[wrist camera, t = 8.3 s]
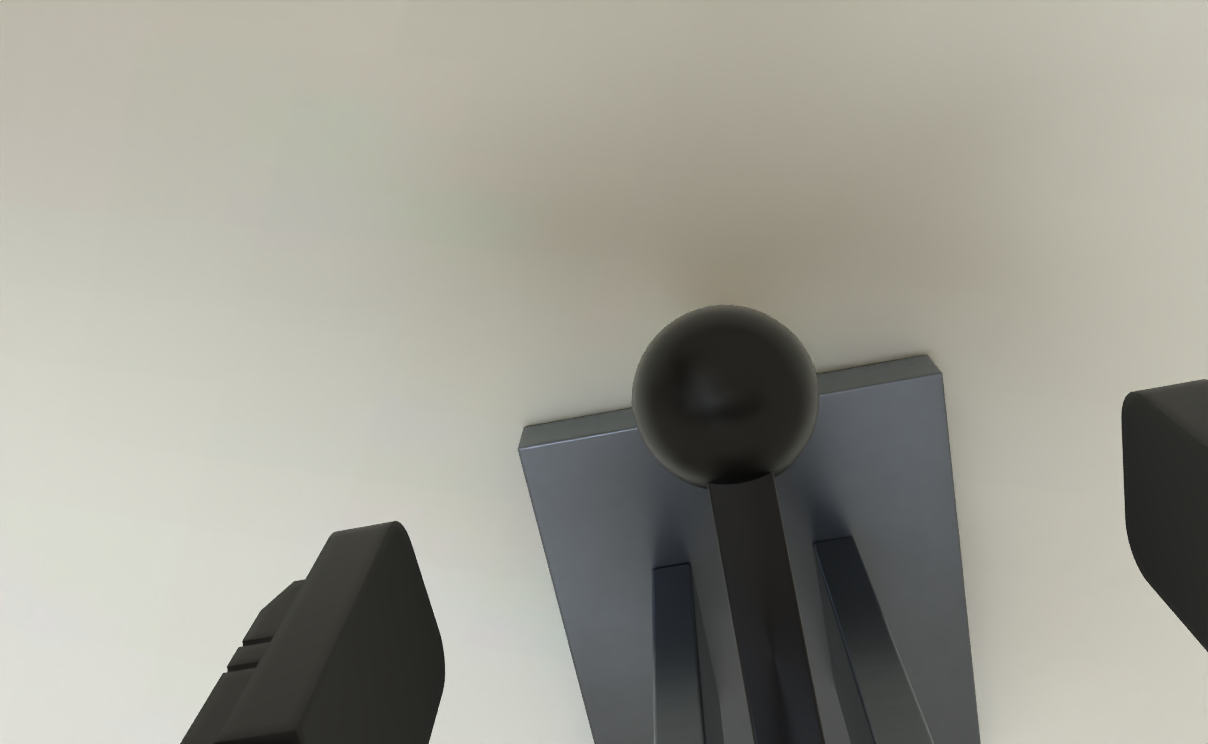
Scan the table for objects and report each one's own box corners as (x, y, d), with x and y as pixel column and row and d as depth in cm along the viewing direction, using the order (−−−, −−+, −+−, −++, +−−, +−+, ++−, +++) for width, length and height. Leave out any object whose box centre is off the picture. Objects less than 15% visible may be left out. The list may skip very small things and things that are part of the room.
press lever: (628, 343, 20) (607, 305, 16) (794, 313, 19) (805, 267, 16) (755, 1089, 17) (757, 1211, 14) (948, 1068, 17) (995, 1189, 14)
